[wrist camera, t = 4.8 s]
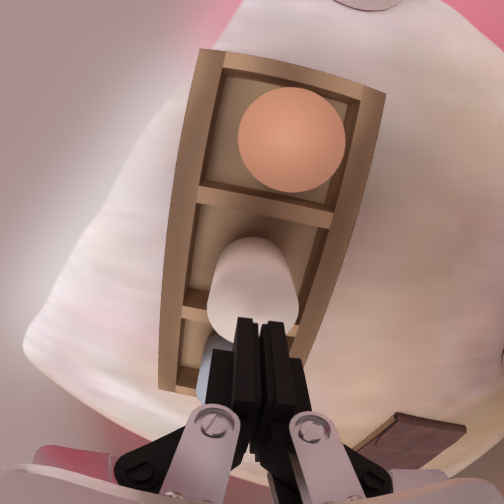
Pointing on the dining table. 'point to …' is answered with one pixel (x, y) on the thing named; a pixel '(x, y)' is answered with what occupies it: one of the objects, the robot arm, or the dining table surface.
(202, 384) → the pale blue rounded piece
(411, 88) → the dining table surface
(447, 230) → the dining table surface
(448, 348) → the dining table surface
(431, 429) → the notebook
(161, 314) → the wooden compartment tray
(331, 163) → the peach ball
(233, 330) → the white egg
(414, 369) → the dining table surface
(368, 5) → the milk bottle
